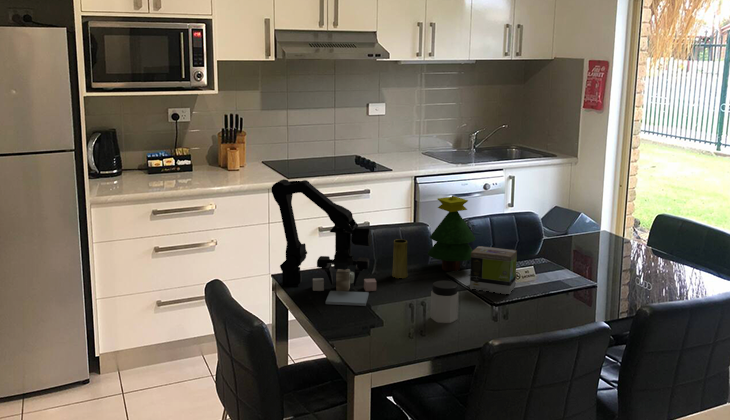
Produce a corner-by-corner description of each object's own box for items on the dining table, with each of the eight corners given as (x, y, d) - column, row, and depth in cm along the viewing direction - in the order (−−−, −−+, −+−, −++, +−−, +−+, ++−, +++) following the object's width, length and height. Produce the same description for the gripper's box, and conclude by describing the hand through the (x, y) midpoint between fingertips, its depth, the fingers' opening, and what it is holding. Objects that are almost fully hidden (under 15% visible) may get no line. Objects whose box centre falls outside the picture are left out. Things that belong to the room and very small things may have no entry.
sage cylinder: (342, 283, 278) (342, 274, 278) (343, 279, 283) (343, 271, 282) (353, 284, 278) (353, 275, 277) (354, 280, 282) (354, 271, 282)
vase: (406, 279, 284) (407, 243, 280) (390, 278, 285) (391, 242, 282) (408, 274, 290) (409, 239, 286) (393, 273, 291) (393, 238, 287)
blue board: (325, 304, 257) (325, 301, 257) (330, 293, 268) (330, 290, 268) (365, 305, 256) (365, 303, 256) (368, 294, 266) (368, 292, 266)
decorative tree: (446, 279, 284) (448, 203, 277) (417, 265, 300) (419, 193, 293) (485, 271, 294) (488, 198, 287) (455, 259, 310) (458, 189, 303)
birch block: (336, 290, 271) (336, 272, 269) (337, 286, 275) (337, 268, 274) (348, 291, 270) (348, 273, 269) (349, 287, 275) (350, 269, 273)
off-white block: (312, 291, 270) (312, 282, 270) (312, 287, 274) (312, 278, 273) (323, 290, 271) (323, 281, 270) (323, 287, 275) (323, 278, 274)
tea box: (515, 287, 276) (517, 249, 272) (508, 296, 267) (511, 256, 263) (476, 281, 282) (478, 244, 278) (468, 289, 273) (470, 251, 269)
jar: (441, 311, 251) (442, 278, 248) (461, 317, 246) (462, 283, 243) (425, 319, 244) (426, 285, 241) (446, 325, 239) (447, 290, 236)
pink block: (365, 291, 270) (365, 282, 270) (363, 287, 274) (363, 278, 273) (376, 291, 271) (376, 282, 270) (374, 287, 275) (374, 278, 274)
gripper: (314, 249, 262) (314, 291, 265) (366, 251, 260) (366, 293, 264) (319, 240, 273) (319, 281, 276) (369, 242, 271) (369, 283, 274)
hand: (343, 284), depth 272 cm, fingers open, 8 cm apart
